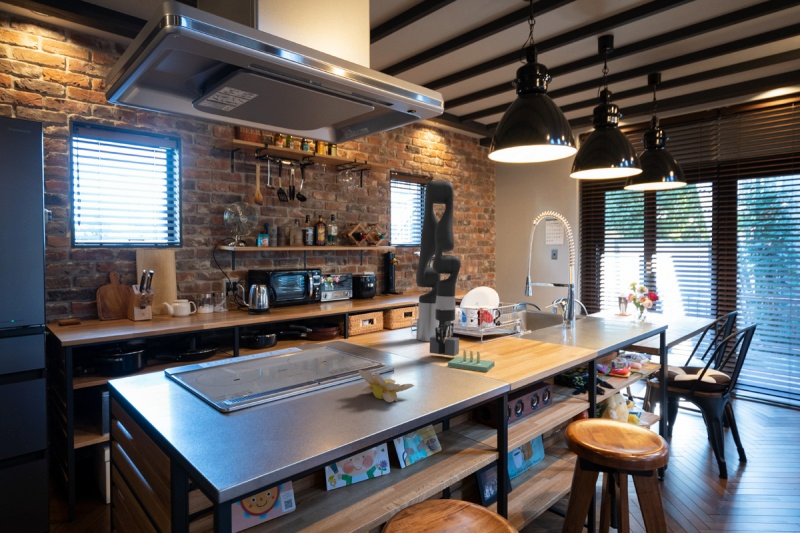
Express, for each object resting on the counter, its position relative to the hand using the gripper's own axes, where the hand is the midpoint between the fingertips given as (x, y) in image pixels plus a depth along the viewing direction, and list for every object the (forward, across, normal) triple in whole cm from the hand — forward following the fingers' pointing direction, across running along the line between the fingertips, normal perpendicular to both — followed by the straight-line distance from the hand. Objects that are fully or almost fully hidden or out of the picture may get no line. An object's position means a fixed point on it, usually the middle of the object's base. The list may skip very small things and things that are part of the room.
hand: (444, 351), depth 172 cm
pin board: (+2, +7, +13) cm, 15 cm away
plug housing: (+1, 0, 0) cm, 1 cm away
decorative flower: (+2, +53, +4) cm, 53 cm away
